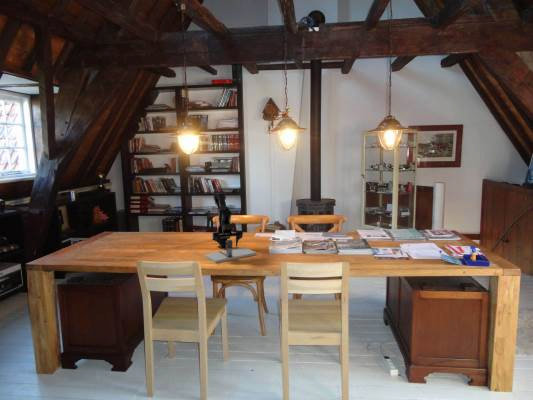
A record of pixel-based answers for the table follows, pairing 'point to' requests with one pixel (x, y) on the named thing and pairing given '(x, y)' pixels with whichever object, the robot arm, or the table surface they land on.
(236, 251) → the subfloor panel
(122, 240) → the table surface
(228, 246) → the awl peg
